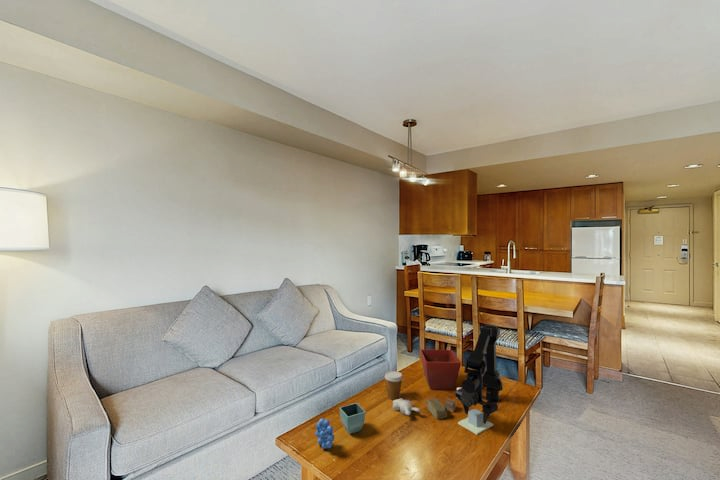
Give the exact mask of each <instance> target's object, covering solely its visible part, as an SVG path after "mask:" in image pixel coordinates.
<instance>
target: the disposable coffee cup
mask: <svg viewBox="0 0 720 480" xmlns="http://www.w3.org/2000/svg"><path fill="white" fill-rule="evenodd" d="M403 377H404V376H403V374H402V373H401V372H399V371H397V370H389V371H386V372H385V375H384V379H385V385H386V387H385V388H386V395H387V398H388V399H389V400H391V401H394V400H397V399H400V398H401V397H400V395H401V387H402V381H403Z"/></svg>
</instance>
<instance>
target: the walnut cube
mask: <svg viewBox="0 0 720 480" xmlns="http://www.w3.org/2000/svg"><path fill="white" fill-rule="evenodd" d="M456 405H457V402H456V400H453V399H450V398H447V399H446V400H445V401H444V406H445V407H446V409H447V412H451V413H454V412H455V410H456V409H457V407H456Z"/></svg>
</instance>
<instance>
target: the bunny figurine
mask: <svg viewBox="0 0 720 480" xmlns="http://www.w3.org/2000/svg"><path fill="white" fill-rule="evenodd" d="M392 409H393V410H394V411H399V412H400V413H401V414H402V415H405V416H410V415H411V414H412V411H415V412H418V413H420V412H421V409H420V408H419V407H414V406H413V404H412V402H411V401H410V400H409V399H403V397H399V399H397V400H392Z"/></svg>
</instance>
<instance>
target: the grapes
mask: <svg viewBox="0 0 720 480" xmlns="http://www.w3.org/2000/svg"><path fill="white" fill-rule="evenodd" d="M330 423H331V422H330V420H328V419H325V418H323V417H322V418H320V419H319V421H318V422H317V423H316V424H315V429H316V431H315V433H314V436H315V437H316V438H317V444H318V445H321V448H322V449H324V450H327V449H331V448H332V447H333V442H334V441H335V437H336V436H335V434H334V426H332V425H330Z"/></svg>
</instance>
